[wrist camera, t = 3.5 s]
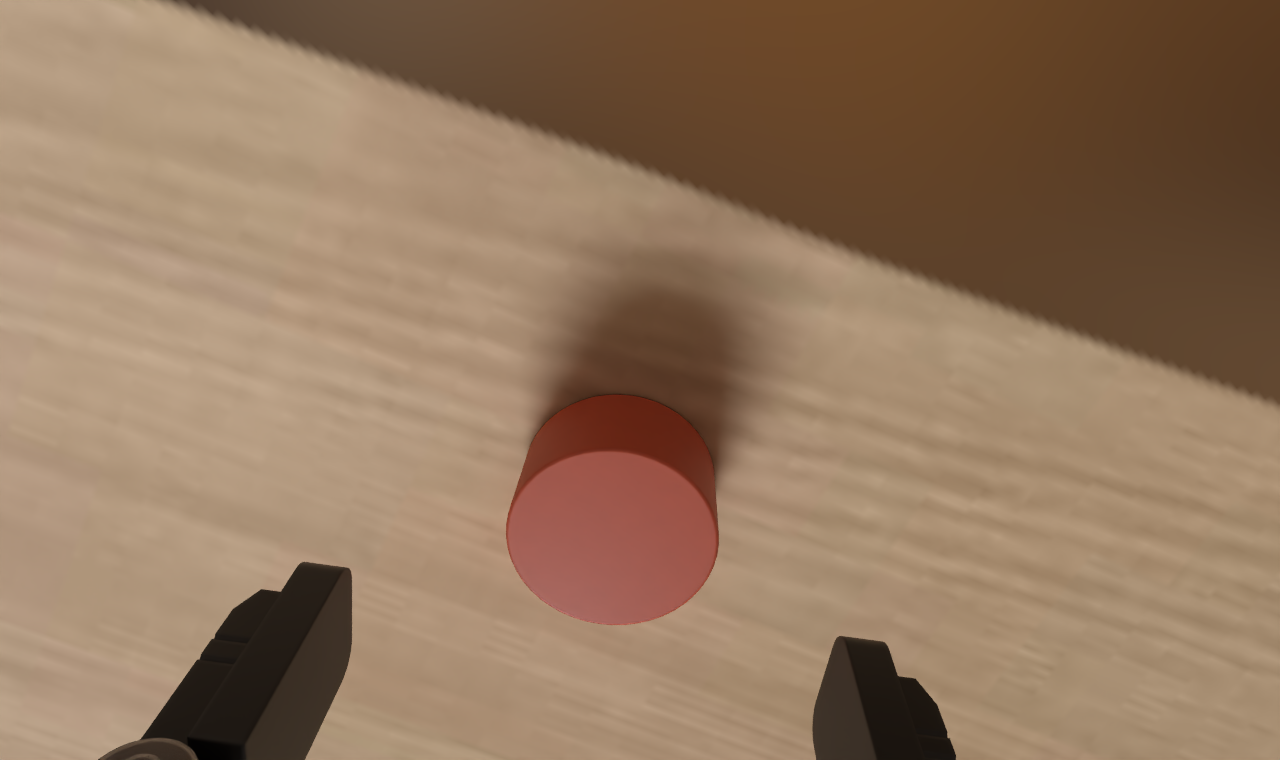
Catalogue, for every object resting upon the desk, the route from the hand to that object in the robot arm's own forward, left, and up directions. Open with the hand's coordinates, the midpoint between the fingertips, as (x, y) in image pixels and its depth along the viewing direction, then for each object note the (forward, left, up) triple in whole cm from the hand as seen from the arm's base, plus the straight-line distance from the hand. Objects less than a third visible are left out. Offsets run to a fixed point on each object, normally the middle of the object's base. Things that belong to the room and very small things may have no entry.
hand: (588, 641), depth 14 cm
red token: (0, 0, -5) cm, 5 cm away
